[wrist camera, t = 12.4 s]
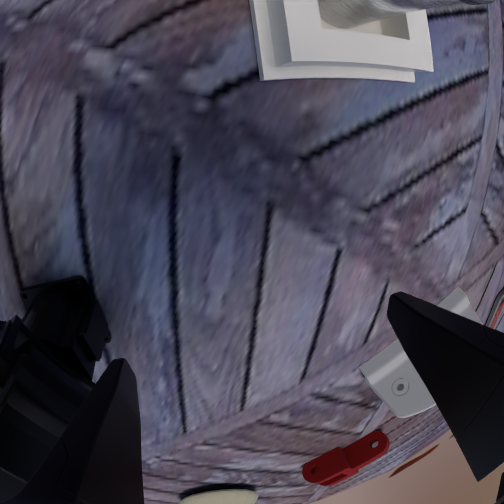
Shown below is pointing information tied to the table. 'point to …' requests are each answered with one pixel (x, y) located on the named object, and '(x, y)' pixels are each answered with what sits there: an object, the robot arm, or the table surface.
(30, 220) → the table surface
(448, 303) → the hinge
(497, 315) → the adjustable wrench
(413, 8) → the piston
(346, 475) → the mechanical linkage
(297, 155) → the table surface
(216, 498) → the handbell
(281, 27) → the white square hollow block
